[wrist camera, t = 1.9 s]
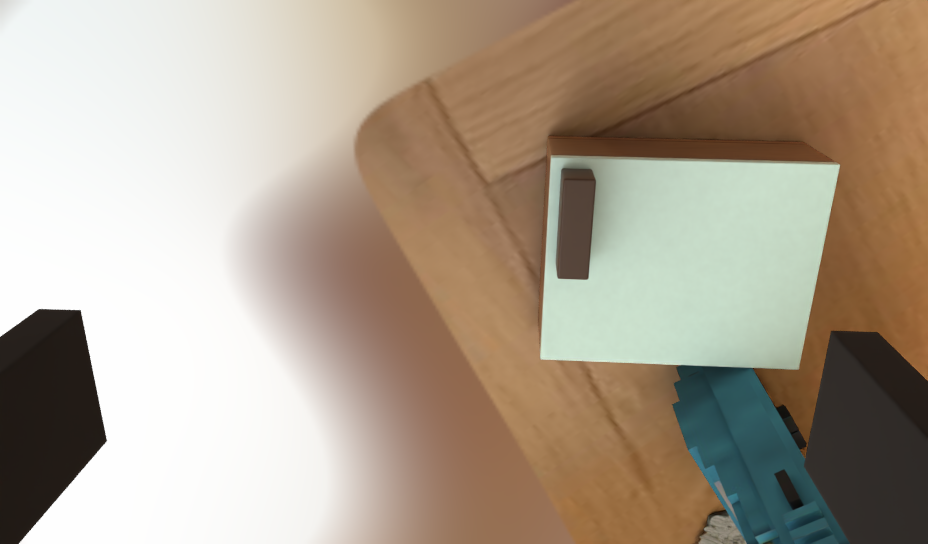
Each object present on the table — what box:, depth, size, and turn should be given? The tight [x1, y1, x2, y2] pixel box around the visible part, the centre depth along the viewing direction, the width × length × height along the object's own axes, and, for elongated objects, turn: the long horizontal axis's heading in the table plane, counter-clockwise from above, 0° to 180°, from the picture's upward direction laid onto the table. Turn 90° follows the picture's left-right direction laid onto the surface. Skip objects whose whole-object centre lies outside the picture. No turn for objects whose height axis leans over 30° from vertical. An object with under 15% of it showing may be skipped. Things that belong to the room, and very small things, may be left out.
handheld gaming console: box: [672, 365, 850, 544], centre depth 30 cm, size 10×4×15 cm, turn 33°
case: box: [538, 136, 835, 346], centre depth 32 cm, size 9×11×4 cm
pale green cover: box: [540, 155, 840, 370], centre depth 30 cm, size 9×11×2 cm
